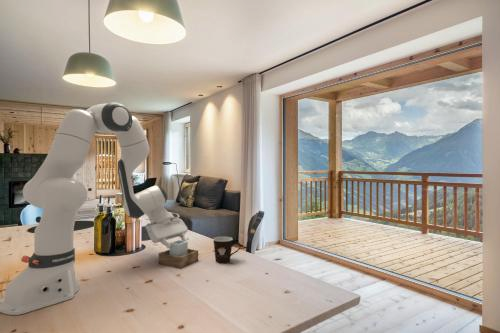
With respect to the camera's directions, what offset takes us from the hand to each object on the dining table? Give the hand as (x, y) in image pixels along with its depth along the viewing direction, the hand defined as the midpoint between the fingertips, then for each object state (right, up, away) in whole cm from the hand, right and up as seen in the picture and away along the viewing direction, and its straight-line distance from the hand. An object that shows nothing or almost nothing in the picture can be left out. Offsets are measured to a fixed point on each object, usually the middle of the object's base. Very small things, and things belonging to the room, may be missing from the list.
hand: (177, 245), depth 136 cm
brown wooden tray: (0, -8, 0) cm, 8 cm away
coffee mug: (+21, -8, +1) cm, 22 cm away
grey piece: (0, -7, 0) cm, 7 cm away
